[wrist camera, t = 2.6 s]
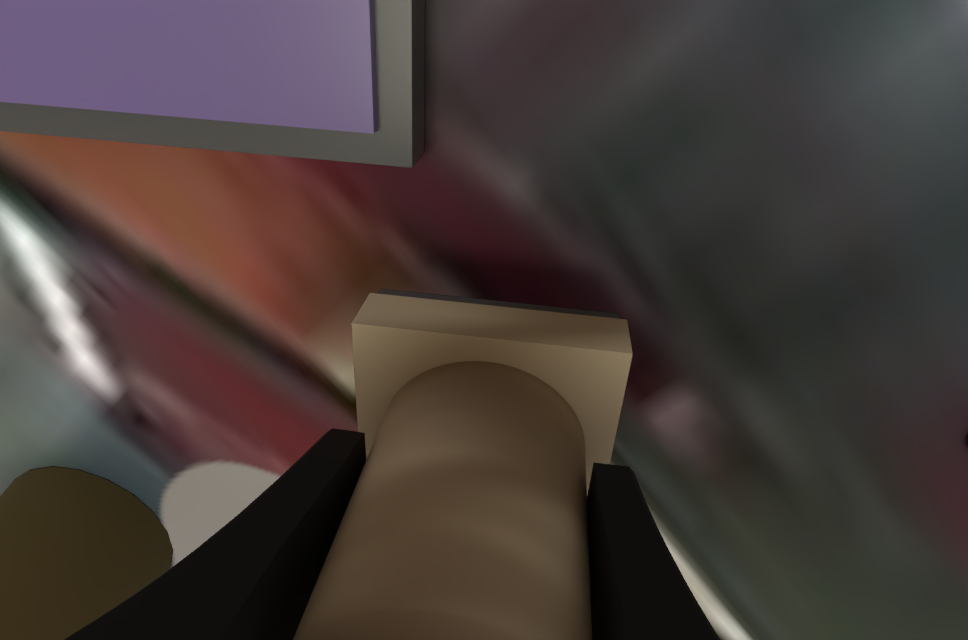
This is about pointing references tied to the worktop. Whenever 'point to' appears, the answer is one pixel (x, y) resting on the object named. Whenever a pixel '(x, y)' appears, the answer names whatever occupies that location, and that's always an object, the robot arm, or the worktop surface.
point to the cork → (72, 552)
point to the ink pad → (220, 75)
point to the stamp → (472, 471)
